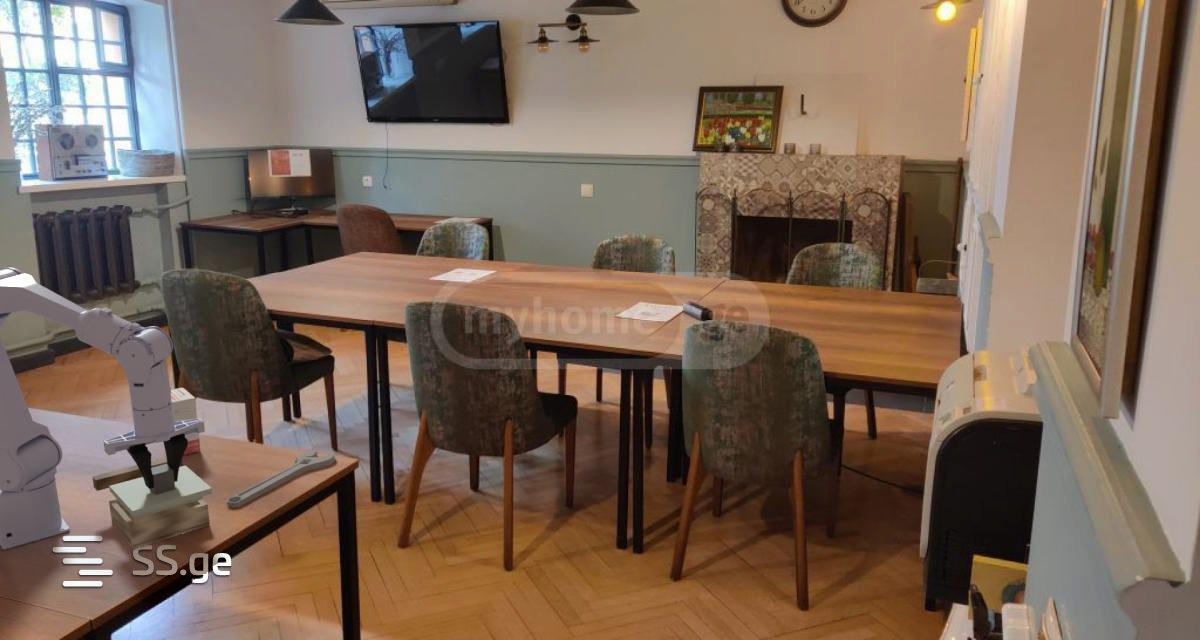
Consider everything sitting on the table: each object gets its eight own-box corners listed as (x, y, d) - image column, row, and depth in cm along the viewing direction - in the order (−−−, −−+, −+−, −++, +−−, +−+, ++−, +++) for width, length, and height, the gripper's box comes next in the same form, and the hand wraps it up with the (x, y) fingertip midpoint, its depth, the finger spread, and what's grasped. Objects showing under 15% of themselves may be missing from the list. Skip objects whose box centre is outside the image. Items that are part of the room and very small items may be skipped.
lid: (133, 522, 134) (129, 490, 133) (110, 497, 143) (106, 466, 141) (212, 499, 142) (209, 468, 141) (186, 476, 151) (183, 446, 149)
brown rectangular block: (97, 490, 148) (95, 480, 148) (93, 487, 149) (92, 476, 149) (182, 468, 157) (181, 458, 157) (179, 464, 159) (177, 454, 158)
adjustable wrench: (235, 512, 154) (234, 503, 154) (211, 503, 157) (210, 494, 157) (340, 461, 175) (339, 453, 175) (317, 454, 178) (316, 446, 178)
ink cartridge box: (202, 451, 178) (195, 383, 174) (176, 457, 174) (168, 388, 171) (189, 438, 184) (181, 373, 180) (163, 444, 181) (156, 377, 177)
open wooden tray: (133, 549, 140) (130, 527, 139) (111, 522, 148) (108, 501, 147) (209, 525, 148) (207, 504, 147) (185, 501, 156) (182, 481, 155)
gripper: (109, 422, 130) (120, 505, 133) (208, 400, 140) (216, 478, 143) (95, 410, 135) (106, 490, 138) (192, 389, 145) (200, 464, 148)
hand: (161, 483), depth 141 cm, fingers closed on lid, 3 cm apart
